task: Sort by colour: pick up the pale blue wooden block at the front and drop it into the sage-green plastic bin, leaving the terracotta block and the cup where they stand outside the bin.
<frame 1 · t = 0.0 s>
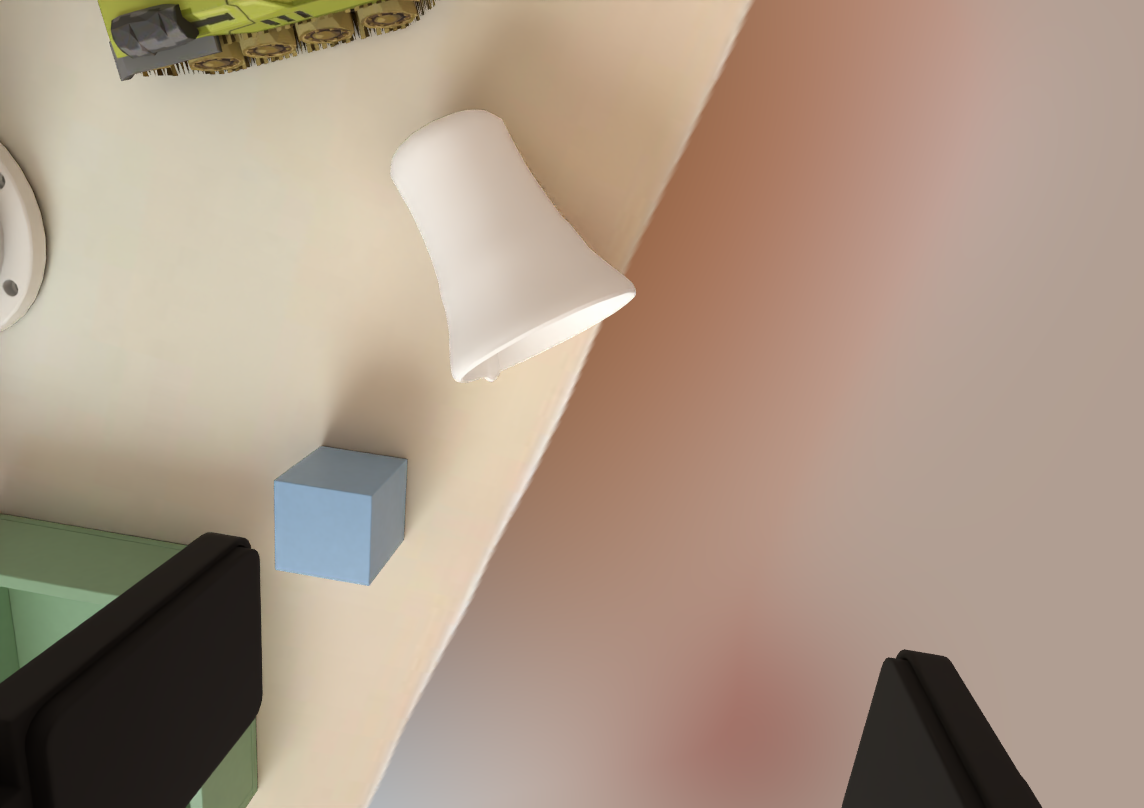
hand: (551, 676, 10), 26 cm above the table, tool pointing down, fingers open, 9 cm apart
toy bin: (132, 657, 45), on the table
cup 2: (446, 142, 32), point 2 cm above the table
blue block: (363, 493, 40), on the table
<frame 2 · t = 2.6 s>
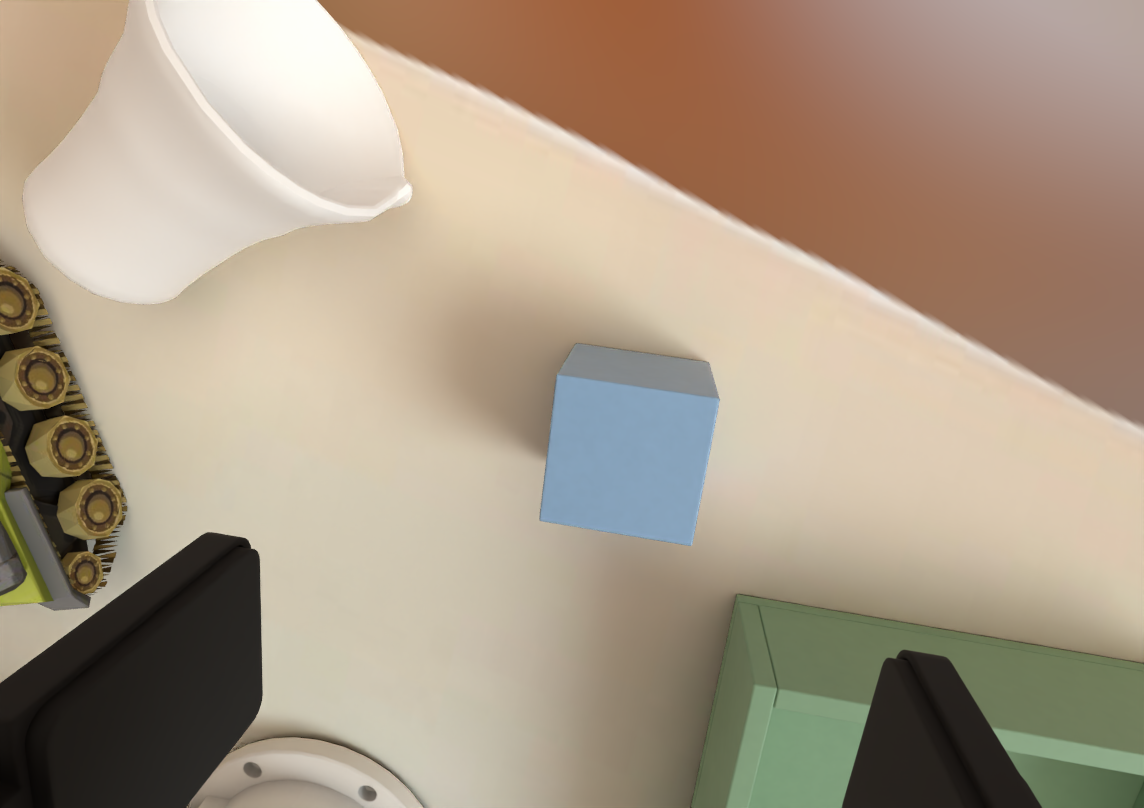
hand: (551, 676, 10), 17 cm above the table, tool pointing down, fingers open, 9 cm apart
toy bin: (907, 798, 30), on the table
toy tank: (8, 406, 30), on the table, touching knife
cup 2: (116, 236, 25), point 2 cm above the table
blue block: (632, 415, 27), on the table
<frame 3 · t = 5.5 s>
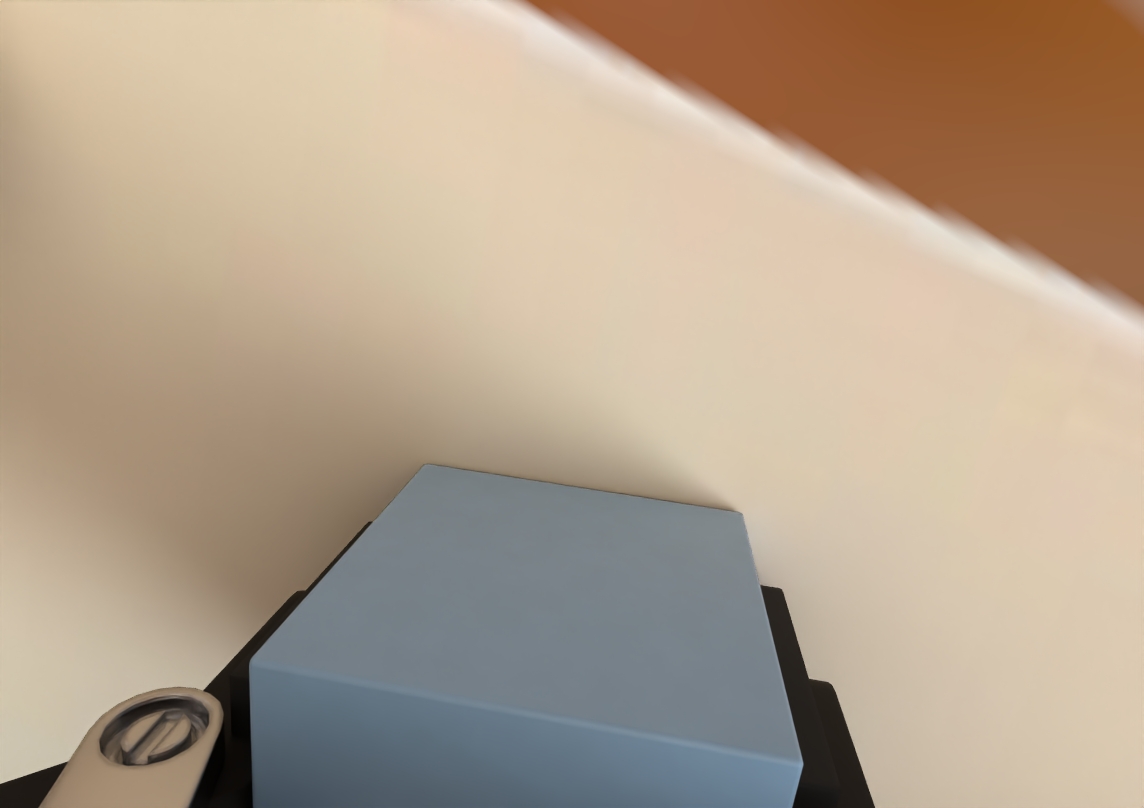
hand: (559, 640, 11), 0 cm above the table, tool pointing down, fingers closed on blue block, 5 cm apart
blue block: (563, 624, 12), on the table, touching gripper
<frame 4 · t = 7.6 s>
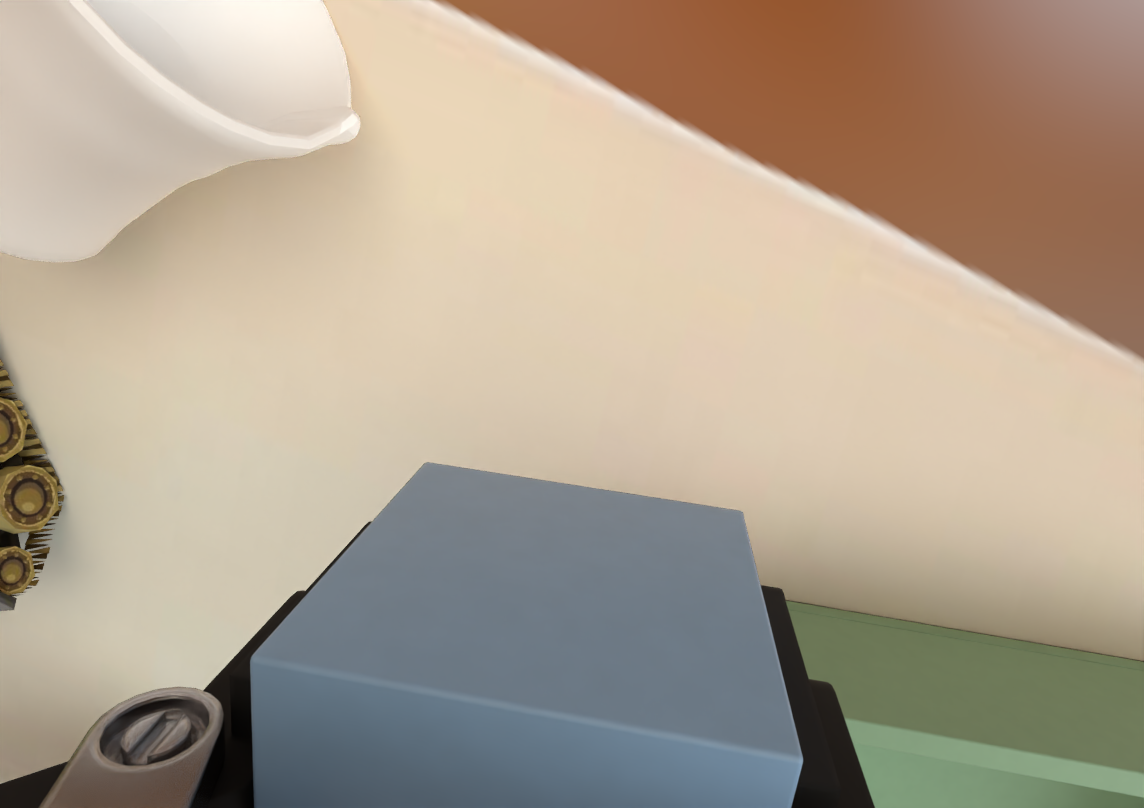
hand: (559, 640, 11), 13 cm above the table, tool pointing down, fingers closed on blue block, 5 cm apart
cup 2: (23, 184, 22), point 2 cm above the table
blue block: (563, 622, 12), point 12 cm above the table, touching gripper
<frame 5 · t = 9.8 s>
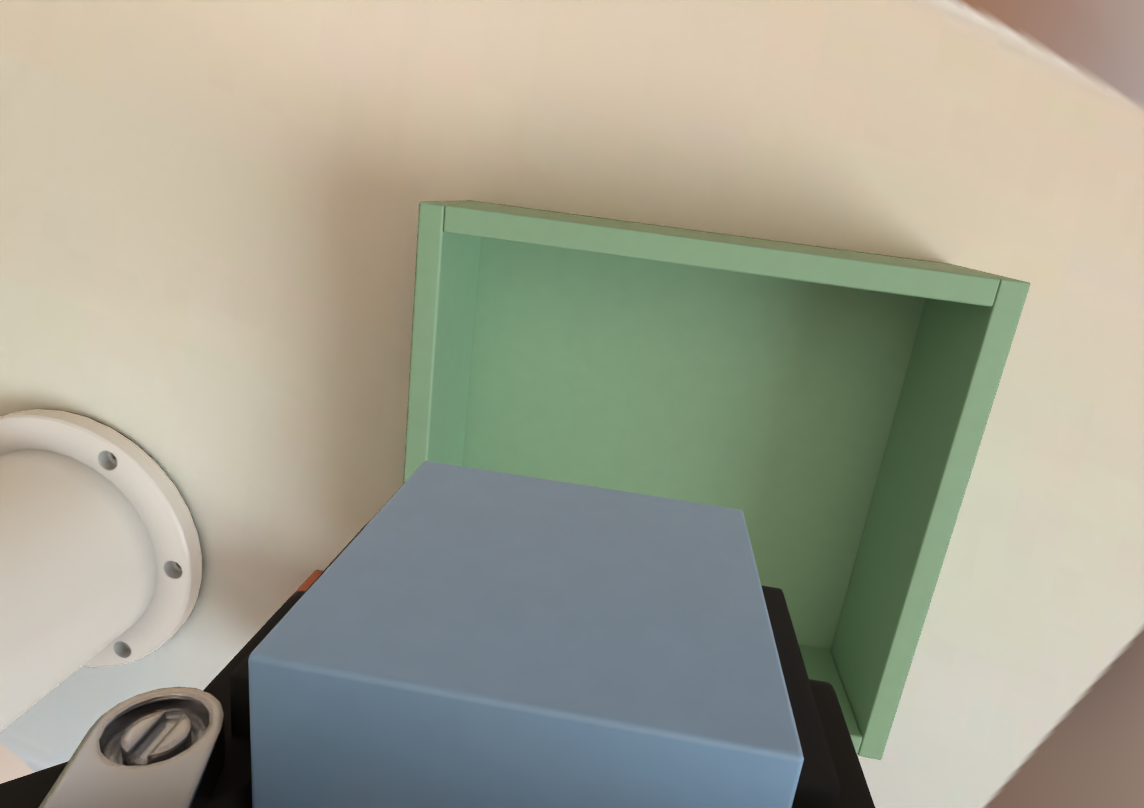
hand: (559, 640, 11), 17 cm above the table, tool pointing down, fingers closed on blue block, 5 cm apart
toy bin: (666, 444, 28), on the table
blue block: (563, 621, 12), point 17 cm above the table, touching gripper
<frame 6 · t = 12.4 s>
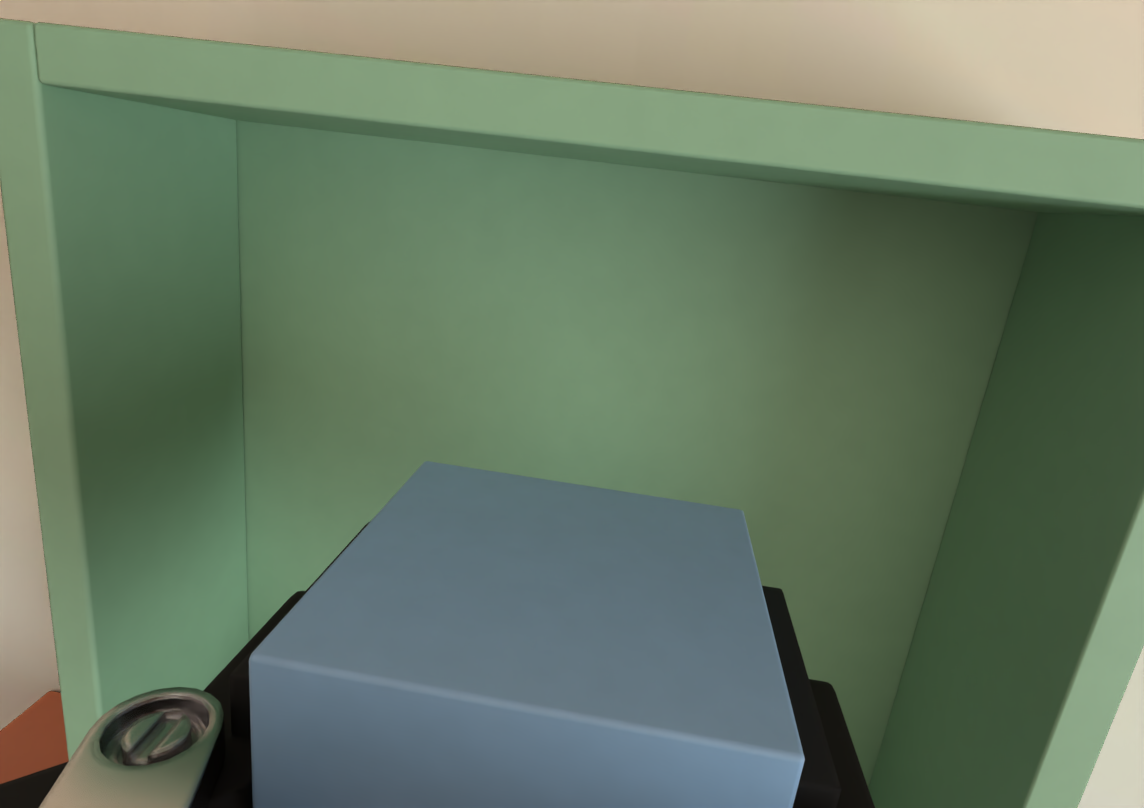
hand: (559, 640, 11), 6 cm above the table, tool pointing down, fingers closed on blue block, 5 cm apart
toy bin: (579, 496, 17), on the table
blue block: (563, 622, 12), point 5 cm above the table, touching gripper
terracotta block: (136, 774, 21), on the table
when the fingers open (1 cm above the table, at t = 14.2 s): blue block stays where it is, resting on toy bin.
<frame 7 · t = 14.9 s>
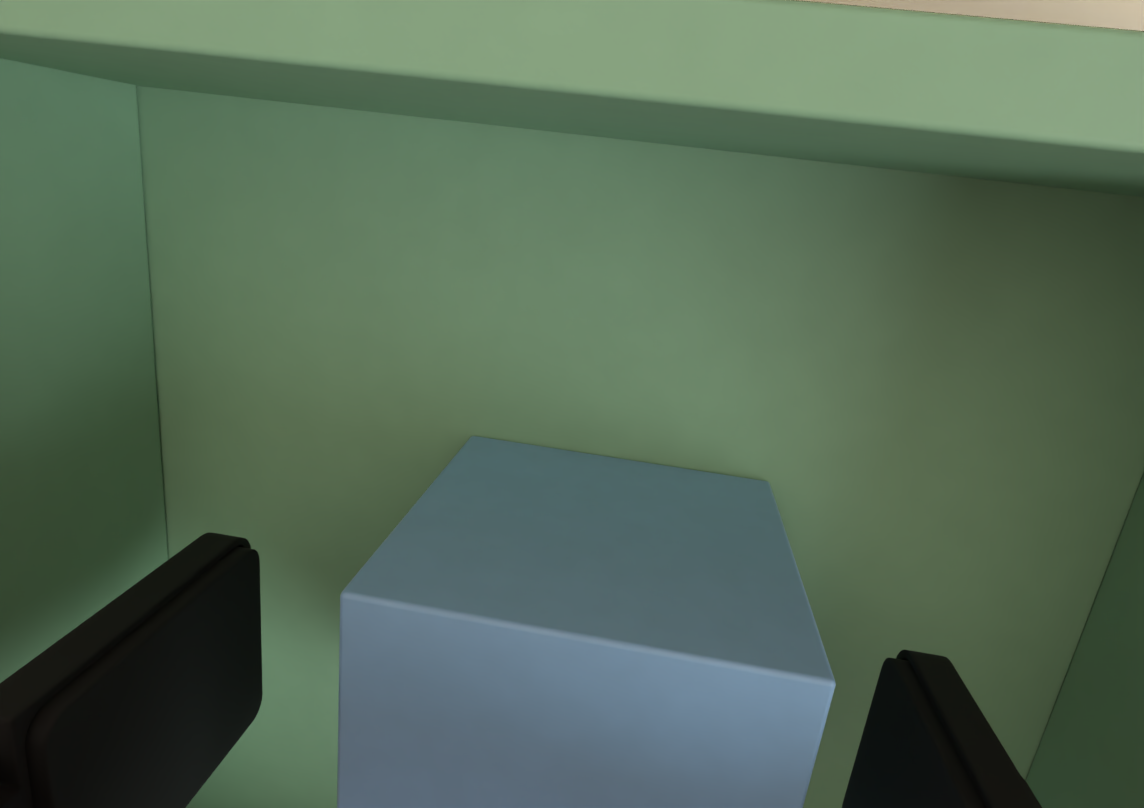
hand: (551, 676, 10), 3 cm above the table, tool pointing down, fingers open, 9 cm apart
toy bin: (591, 574, 13), on the table
blue block: (599, 588, 12), point 1 cm above the table, touching toy bin
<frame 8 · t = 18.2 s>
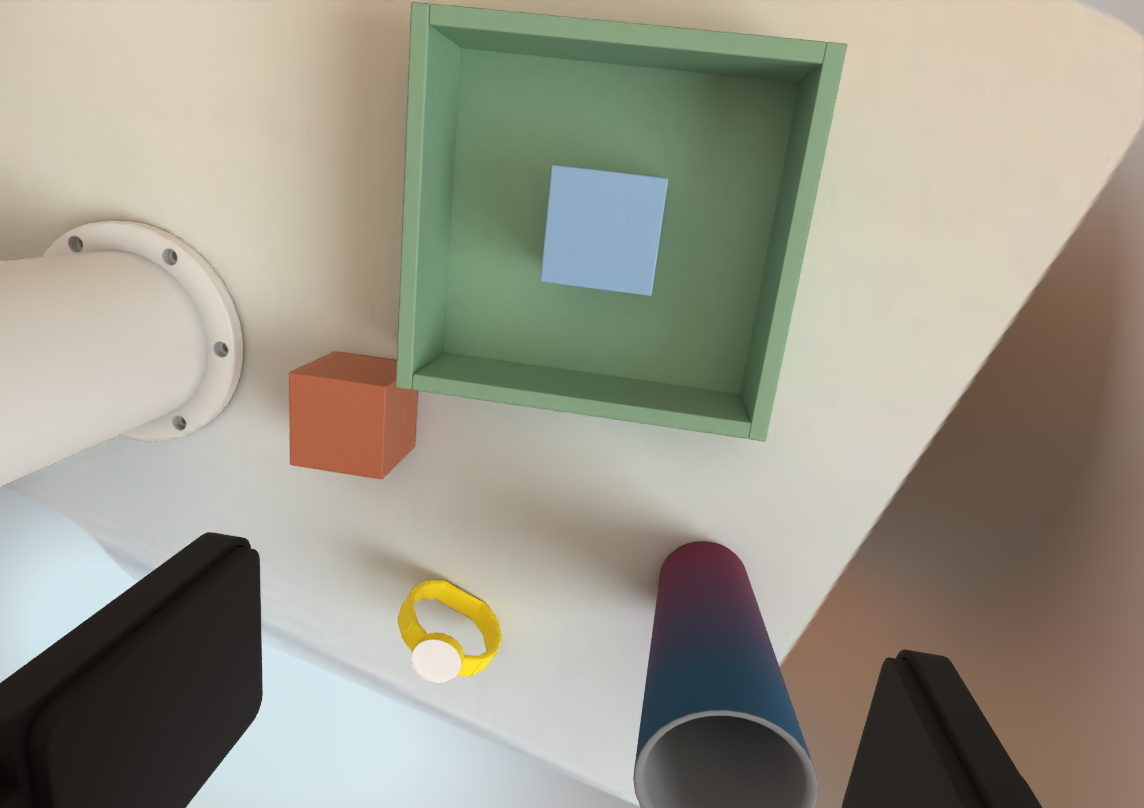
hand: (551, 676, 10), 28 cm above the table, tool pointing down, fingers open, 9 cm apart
toy bin: (607, 227, 36), on the table
watch: (464, 597, 44), on the table
cup: (702, 578, 41), on the table
blue block: (610, 226, 35), point 1 cm above the table, touching toy bin
terracotta block: (375, 399, 40), on the table
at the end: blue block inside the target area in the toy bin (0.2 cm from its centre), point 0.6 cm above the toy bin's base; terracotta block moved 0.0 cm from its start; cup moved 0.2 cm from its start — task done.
